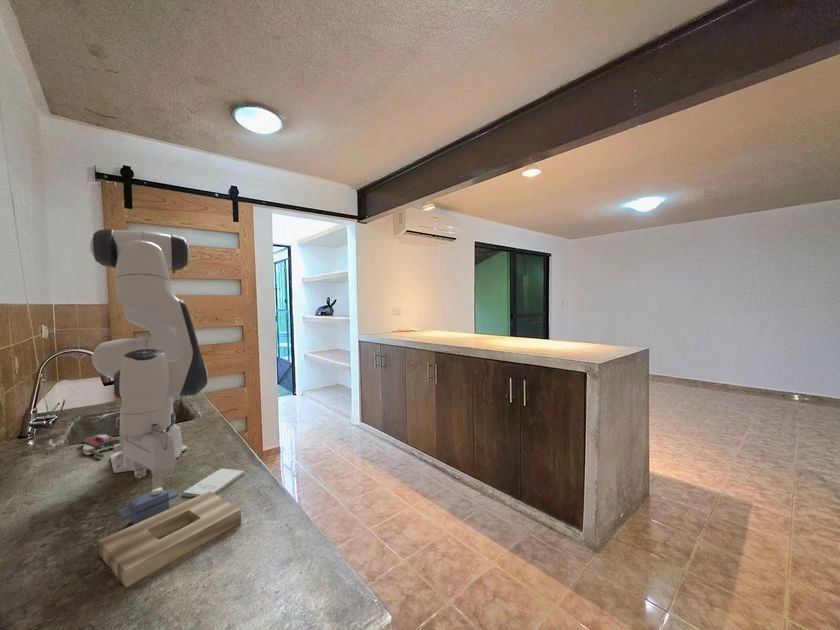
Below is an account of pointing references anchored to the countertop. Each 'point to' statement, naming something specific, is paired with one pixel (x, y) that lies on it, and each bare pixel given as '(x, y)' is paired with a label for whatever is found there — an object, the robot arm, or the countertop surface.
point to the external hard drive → (214, 482)
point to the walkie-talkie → (98, 443)
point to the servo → (148, 505)
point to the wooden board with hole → (144, 553)
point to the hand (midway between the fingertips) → (148, 481)
